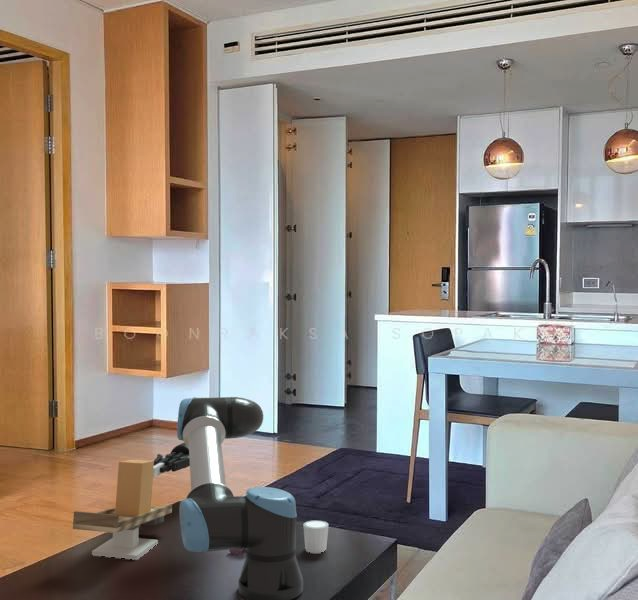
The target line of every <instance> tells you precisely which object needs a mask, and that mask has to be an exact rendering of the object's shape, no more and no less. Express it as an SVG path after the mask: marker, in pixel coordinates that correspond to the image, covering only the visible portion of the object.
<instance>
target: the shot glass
mask: <svg viewBox="0 0 638 600" xmlns="http://www.w3.org/2000/svg"><path fill="white" fill-rule="evenodd" d="M302 525H303V536H304V549H306V550H305V551H306V552H307V553H309V552H310V553H309V554H322V553H321V552H323V553H324V551H325V550H326V551H327V547H328V545H327V543H328V534H329V527H330V526H329V523H328V522H327V521H324V520H308V521H305V522H304V523H303V524H302ZM326 551H325V552H326Z"/></svg>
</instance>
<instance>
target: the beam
mask: <svg viewBox="0 0 638 600" xmlns="http://www.w3.org/2000/svg"><path fill="white" fill-rule="evenodd" d="M115 508H116V506H115V507H112V508H109V509H105V510H102V511H98V512H91V511H90V512H89V511H79V510H78V511H76V510H75V511H73V519H72V520H73V521H72V530H80V531H91V532H92V531H93V532H100V533H101V532H102V533H111V534H113V533H118V532H120V531H123V530H126V529H129V528H131V527H137V528H139V529H140V527H141V525H149V526H156V525H159V524H162V523H164V522H165V516H166V515H170V514H172V512H173V504H168V505H165V506H161V507H160V506H159V507H158V506H151V511H149V512H146V513H144V514H141V515H138V516H128V515H117V514H115Z"/></svg>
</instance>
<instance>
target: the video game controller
mask: <svg viewBox="0 0 638 600" xmlns="http://www.w3.org/2000/svg"><path fill="white" fill-rule="evenodd" d="M242 551H243V552H246V548H242V549H230V550H229V553H230V554H232V555H235V554H239V553H241V552H242Z"/></svg>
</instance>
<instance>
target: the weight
mask: <svg viewBox="0 0 638 600" xmlns="http://www.w3.org/2000/svg"><path fill="white" fill-rule="evenodd" d="M117 467H118V468H117V469H118V472H117V481H116V498H115V507H116V508H115V507H114V508H115V514H117V515H128V516H138V515H141V514H144V513H146V512H149V511H151V507H152V498H153V497H152V495H153V494H152V493H153V483H154V482H153V480H154V478H153V468H154V460H144V459H126V460H121V461H118V466H117Z"/></svg>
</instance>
